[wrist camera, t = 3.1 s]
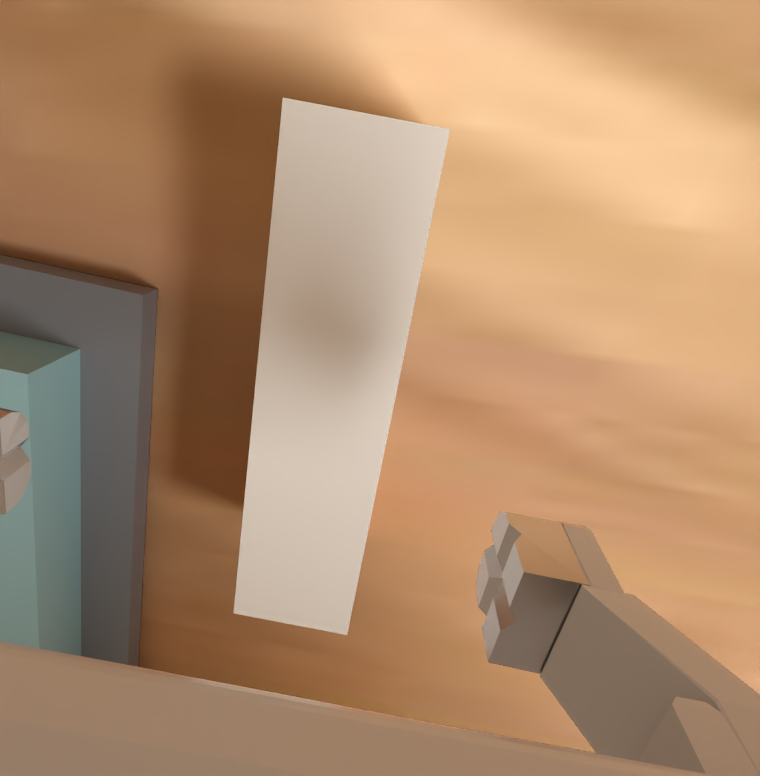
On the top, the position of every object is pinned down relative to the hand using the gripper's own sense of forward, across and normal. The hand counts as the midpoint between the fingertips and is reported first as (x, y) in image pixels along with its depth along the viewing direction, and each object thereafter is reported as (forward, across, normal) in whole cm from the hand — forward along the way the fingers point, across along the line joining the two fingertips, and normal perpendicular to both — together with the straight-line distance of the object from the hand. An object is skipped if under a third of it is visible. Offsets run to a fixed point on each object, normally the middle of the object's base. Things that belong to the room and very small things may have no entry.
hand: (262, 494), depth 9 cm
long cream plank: (+9, -1, +1) cm, 9 cm away
